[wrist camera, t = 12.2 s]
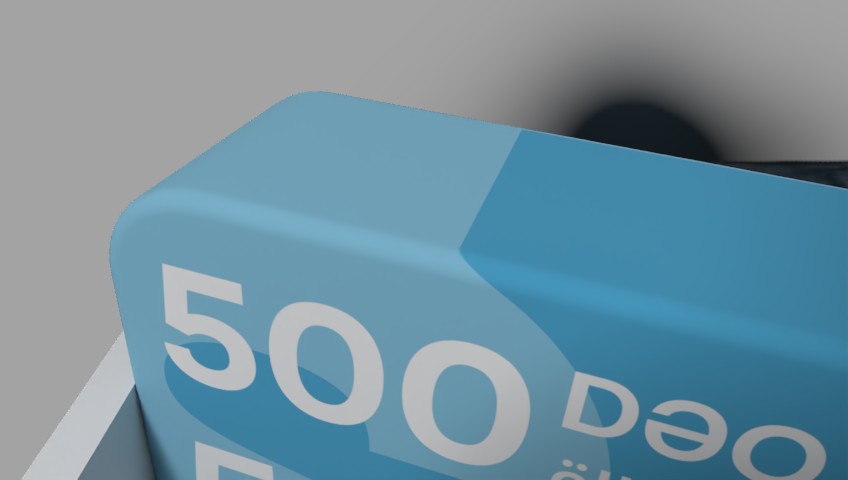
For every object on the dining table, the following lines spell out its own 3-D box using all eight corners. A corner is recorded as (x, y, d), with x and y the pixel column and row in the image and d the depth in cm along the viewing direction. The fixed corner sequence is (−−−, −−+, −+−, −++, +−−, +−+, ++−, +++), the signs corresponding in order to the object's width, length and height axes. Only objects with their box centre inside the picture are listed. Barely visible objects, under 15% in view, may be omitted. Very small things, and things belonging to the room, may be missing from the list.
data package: (185, 644, 15) (79, 171, 9) (280, 487, 19) (252, 72, 13) (741, 869, 13) (1150, 424, 6) (728, 637, 16) (977, 206, 10)
